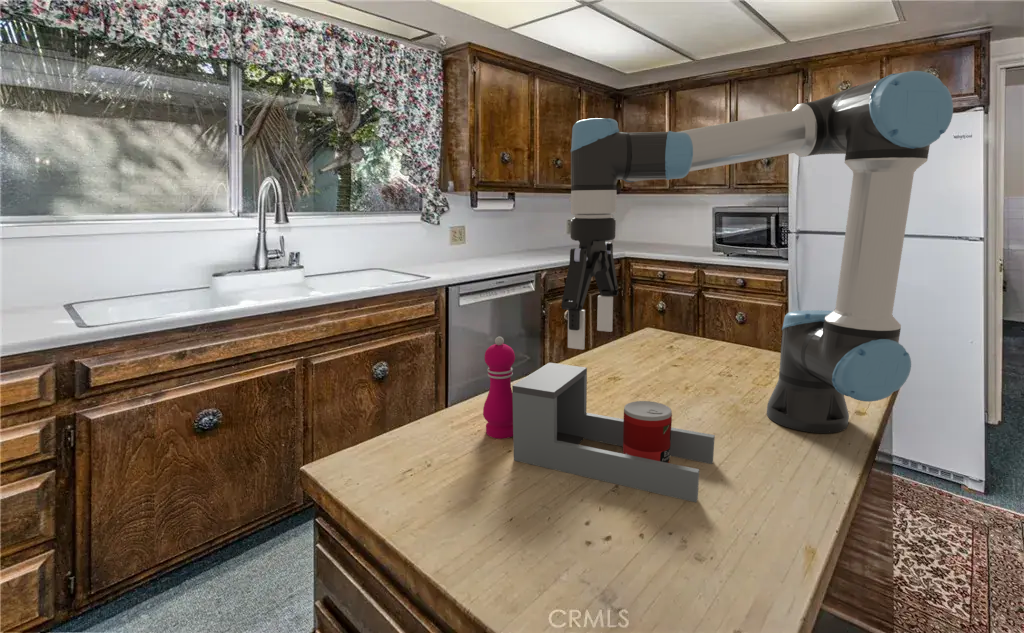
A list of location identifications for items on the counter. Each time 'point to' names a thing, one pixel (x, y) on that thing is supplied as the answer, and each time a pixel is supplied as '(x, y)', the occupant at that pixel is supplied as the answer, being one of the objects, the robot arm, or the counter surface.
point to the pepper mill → (499, 390)
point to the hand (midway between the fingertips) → (591, 339)
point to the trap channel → (594, 437)
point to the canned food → (647, 430)
